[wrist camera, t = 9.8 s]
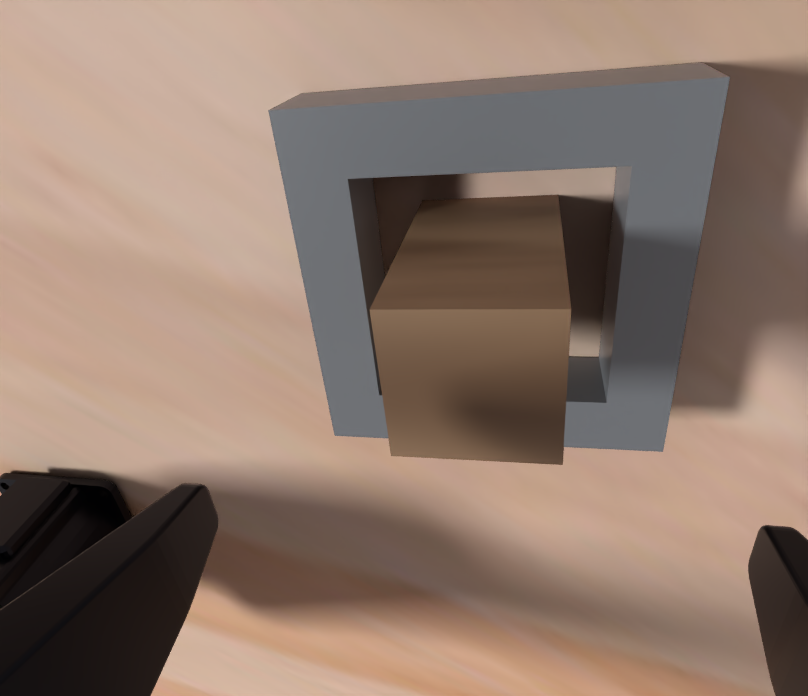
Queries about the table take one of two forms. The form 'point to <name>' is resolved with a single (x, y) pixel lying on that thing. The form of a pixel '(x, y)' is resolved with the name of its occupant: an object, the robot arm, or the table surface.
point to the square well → (504, 152)
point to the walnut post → (476, 332)
